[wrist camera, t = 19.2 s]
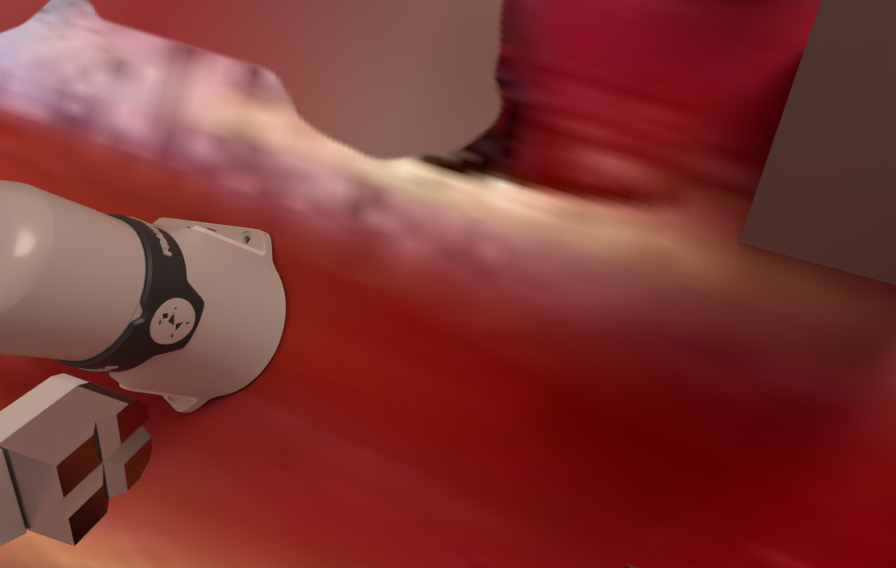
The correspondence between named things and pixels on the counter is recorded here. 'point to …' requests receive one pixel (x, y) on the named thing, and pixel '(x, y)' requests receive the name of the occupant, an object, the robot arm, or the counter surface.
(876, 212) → the carton
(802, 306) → the counter surface
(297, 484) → the counter surface
